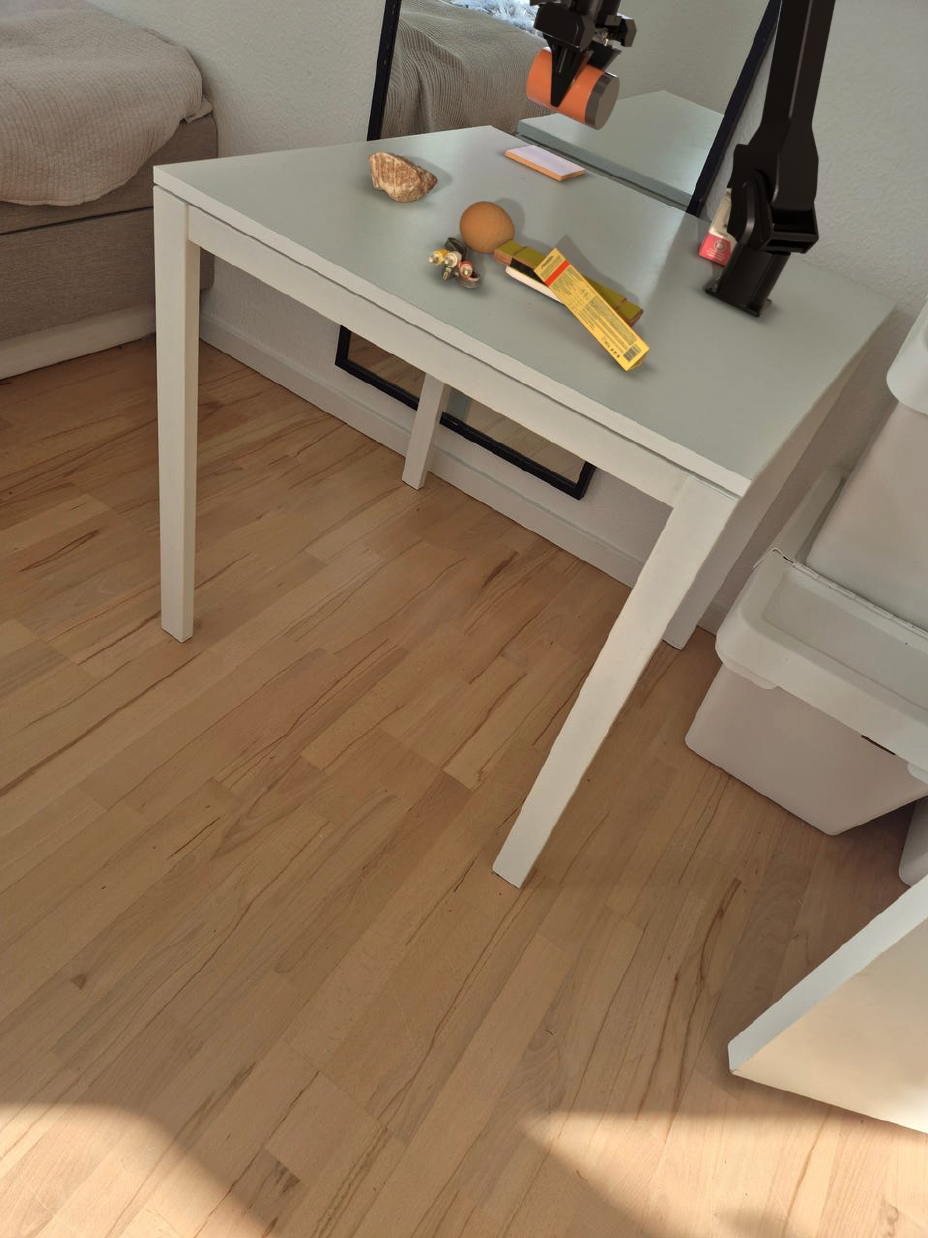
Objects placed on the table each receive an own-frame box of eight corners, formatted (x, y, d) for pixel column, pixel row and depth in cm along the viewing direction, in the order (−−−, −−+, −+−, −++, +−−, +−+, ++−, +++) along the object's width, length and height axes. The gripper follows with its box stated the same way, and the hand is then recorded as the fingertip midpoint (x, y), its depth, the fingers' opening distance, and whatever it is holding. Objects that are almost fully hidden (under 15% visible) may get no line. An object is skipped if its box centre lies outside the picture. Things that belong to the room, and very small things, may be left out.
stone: (427, 221, 87) (442, 173, 86) (422, 201, 81) (438, 149, 81) (363, 199, 87) (377, 151, 86) (353, 177, 81) (369, 125, 81)
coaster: (559, 181, 106) (561, 176, 106) (504, 155, 108) (505, 150, 108) (584, 173, 112) (585, 168, 112) (531, 149, 114) (533, 144, 114)
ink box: (696, 254, 99) (744, 148, 91) (701, 245, 103) (748, 142, 95) (763, 282, 98) (817, 178, 91) (766, 272, 102) (819, 170, 94)
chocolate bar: (650, 348, 69) (652, 353, 71) (555, 247, 70) (560, 255, 72) (626, 371, 69) (629, 376, 72) (533, 270, 71) (538, 278, 73)
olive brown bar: (511, 235, 78) (505, 256, 80) (495, 245, 76) (489, 265, 78) (646, 306, 75) (637, 325, 77) (633, 318, 73) (624, 337, 75)
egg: (460, 187, 77) (507, 205, 81) (443, 236, 80) (490, 250, 83) (486, 203, 75) (533, 220, 79) (467, 252, 77) (514, 267, 81)
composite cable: (443, 243, 79) (452, 217, 77) (490, 263, 79) (499, 238, 78) (421, 277, 72) (430, 249, 70) (473, 299, 72) (483, 272, 70)
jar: (521, 101, 105) (536, 46, 101) (541, 98, 109) (556, 46, 105) (589, 131, 103) (607, 77, 99) (607, 128, 107) (625, 75, 103)
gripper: (581, -63, 104) (540, 79, 114) (515, -79, 90) (476, 83, 100) (659, -32, 101) (611, 110, 112) (604, -44, 88) (555, 118, 98)
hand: (564, 104), depth 105 cm, fingers closed on jar, 6 cm apart
